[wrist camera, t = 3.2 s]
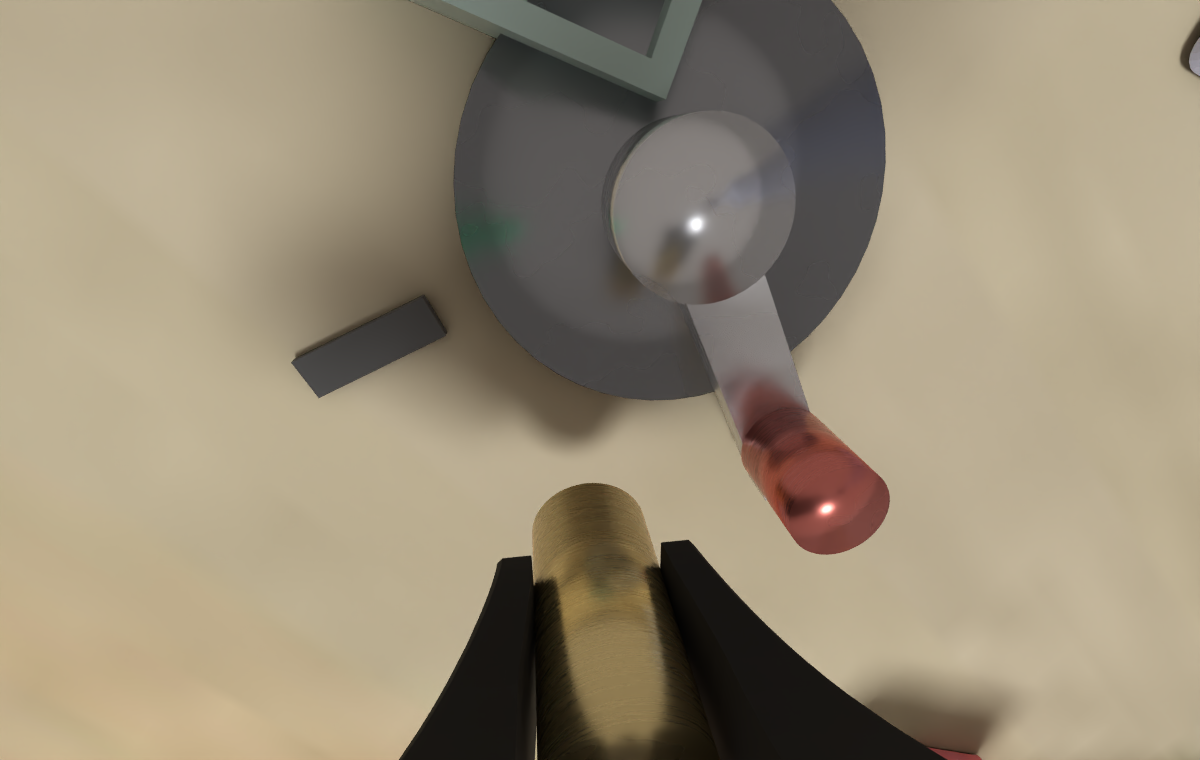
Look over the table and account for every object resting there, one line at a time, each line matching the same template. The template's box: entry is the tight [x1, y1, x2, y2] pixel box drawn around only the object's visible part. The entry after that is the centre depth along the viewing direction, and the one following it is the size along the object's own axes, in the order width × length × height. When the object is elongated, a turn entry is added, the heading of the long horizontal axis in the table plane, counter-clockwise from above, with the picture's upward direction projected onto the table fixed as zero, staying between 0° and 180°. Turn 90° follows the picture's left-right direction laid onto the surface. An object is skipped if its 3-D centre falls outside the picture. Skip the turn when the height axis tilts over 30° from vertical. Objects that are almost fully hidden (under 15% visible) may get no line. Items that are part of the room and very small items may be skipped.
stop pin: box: [532, 483, 720, 760], centre depth 11 cm, size 3×3×6 cm
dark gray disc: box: [454, 0, 886, 400], centre depth 14 cm, size 11×11×1 cm
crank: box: [601, 110, 890, 555], centre depth 13 cm, size 10×4×4 cm, turn 25°
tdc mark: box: [291, 295, 447, 398], centre depth 15 cm, size 4×1×1 cm, turn 115°
